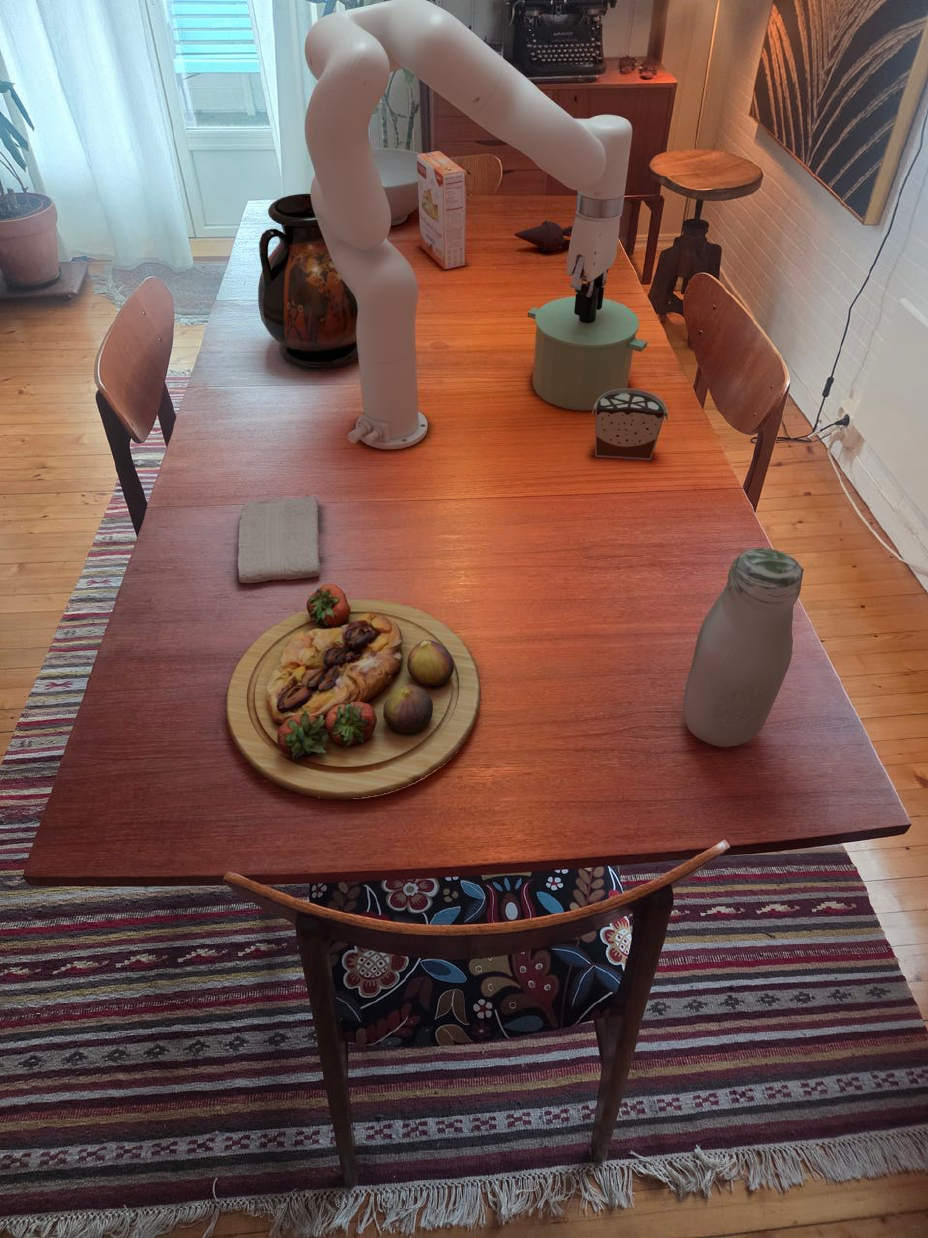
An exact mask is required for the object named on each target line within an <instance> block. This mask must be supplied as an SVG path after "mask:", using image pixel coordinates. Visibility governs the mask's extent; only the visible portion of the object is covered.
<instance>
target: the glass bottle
mask: <svg viewBox="0 0 928 1238" xmlns="http://www.w3.org/2000/svg"><path fill="white" fill-rule="evenodd" d="M804 571H805V568H802V566H801V564H800V563H799V562H798V560H796V559H795V558H794V557H792V556H791V555H788V554H787V553H785V552H783V551H780V550H777V549H774V548H773V549H772V548H765V547H761V548H760V547H759V548H752V549H749V550H747V551H744V552H742V553H741V554H739V555H738V556H737V557H736V558H735V559H734V560H733V562H732V564H731V565H730V567H729V570H728V574H727V581H726V584H725V586H724V589H723V590H722V592H721V593H720V595H719V596H718V597H717V599H716V600H715V601H714V603H713V605H712V606H711V608H710V610H708V612H707V614H706V615H705V617H704V619H703V621H702V623H701V626H700V627H699V631H698V634H697V638H696V643H695V647H694V651H693V652H694V653H693V658H692V660H691V661H692V662H691V665H690V669H689V673H688V676H687V680H686V684H685V688H684V689H685V690H684V694H683V695H684V696H683V702H682V715H683V718H684V722H685V723H686V727H687V729H688V730H689V731H690V733H691V734H692V735H694V737H696V739H699V740H701V741H702V742H704V743H706V744H709V745H712V746H715V747H719V748H730V747H731V748H732V747H738V746H740V745H744V744H746V743H748V742H750V741H751V740H753V739H755V737H757V736H758V735H759V733H760V732H761V731H762V730H763V728H764V726H765V725H766V722H767V720H768V718H769V716H770V714H771V710H772V708H773V707H774V704H775V702H776V699H777V697H778V694H779V692H780V690H781V687H782V684H783V682H784V679H785V678H786V674H787V673H788V669H789V667H790V666H791V665H790V664H791V661H792V657H793V655H792V654H793V646H794V639H793V638H794V637H793V619H794V606H795V604H796V603H797V601H798V599H799V597H800V594H801V590H802V581H803V575H804Z"/></svg>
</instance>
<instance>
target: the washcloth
mask: <svg viewBox="0 0 928 1238" xmlns="http://www.w3.org/2000/svg"><path fill="white" fill-rule="evenodd" d="M319 535H320V533H319V499H318V498H317V497H315V496H311V495H304V496H302V497H295V498H294V497H293V498H280V499H279V498H277V499H276V498H275V499H274V498H273V499H258V500H254V499H253V500H250V501H248V502H246V503H245V504H243V506H242V510H241V516H240V520H239V521H238V541H237V544H238V545H237V547H238V554H237V555H238V557H237V569H238V580H239V583H244V584H254V583H260V582H261V583H265V582H268V581H276V580H287V581H290V580H299V579H307V578H309V579H310V578H316V577H319V576H321V575H322V573H321V561H320V540H319V539H320V537H319Z"/></svg>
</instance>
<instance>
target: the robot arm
mask: <svg viewBox="0 0 928 1238" xmlns="http://www.w3.org/2000/svg"><path fill="white" fill-rule="evenodd" d="M304 58H305V62H306V65H307V68H308V69H309V72H310V74H312V76H313V77H314V79H315V80H316V81H317V82H316V84H315V87H314V88H313V90H312V93H311V95H310V98H309V101H308V105H307V107H306V113H305V116H304V137H305V143H306V144H305V145H306V148H307V150H308V151H307V152H308V155H309V158H310V161H311V163H312V164H311V165H312V167H313V170H314V171H313V172H314V175H313V178H312V181H311V185H310V194H311V202H312V207H313V210H314V213H315V216H316V219H317V222H318V224H319V227H320V230H321V232H322V235H323V238H324V240H325V243H326V246H327V248H328V251H329V253H330V256H331V259H332V261H333V264H334V266H335V268H336V270H337V272H338V274H339V276H340V277H341V279H342V280H343V281H344V283H345V284H346V285H347V286H348V288H349V289H350V291H351V292H352V293H353V295H354V296H355V298H356V301H357V306H358V315H357V324H356V339H357V350H358V357H357V358H358V359H357V360H358V368H359V381H360V391H361V392H360V393H361V404H362V413H361V414H360V415H359V417H358V418H357V420H356V422H355V428H354V429H353V430H351V431H350V432H348V433H347V436H346V438H347V440H348V441H349V442H350V443H351V444H356V443H357V442H359V441H361V442H362V443H364V444H365V445H367V446H369V447H372V448H375V449H378V450H379V449H380V450H400V449H401V450H402V449H405V448H408V447H411V446H415V445H416V444H417V443H419V442H421V441H422V440H423V439H424V438H425V437H426V436H427V433H428V429H429V428H428V427H429V425H428V419H427V418H426V416H425V415H424V414H423V413H422V412H421V411H419V391H418V368H417V363H418V362H417V345H416V344H417V343H416V316H417V307H418V301H419V284H418V283H419V282H418V279H417V276H416V273H415V271H414V269H413V267H412V265H411V264H410V262H409V261H408V260H407V258H406V257H405V256H404V255H403V254H402V253H401V252H400V251H399V250H398V249H397V247H395V246H394V245H393V244H392V242H390V241H389V239H388V238H387V237H388V235H389V233H390V230H391V227H392V226H391V211H390V206H389V202H388V199H387V196H386V194H385V191H384V188H383V185H382V182H381V179H380V176H379V172H378V169H377V166H376V163H375V160H374V156H373V152H372V148H373V147H372V144H371V140H370V123H371V119H372V116H373V114H374V111H375V110H376V108H377V106H378V105H379V103H380V102H381V100H382V99H383V96H384V95H385V93H386V91H387V89H388V85H389V81H390V74H391V73H394V72H396V71H400V70H403V69H405V70H406V71H408V72H409V73H411V74H412V75H413V76H415V77H416V78H417V79H418V80H420V81H421V82H422V83H424V84H425V85H426V86H428V88H430V89H432V90H433V91H434V92H436V93H437V94H438V95H439V96H440V97H442V98H443V99H444V100H446V101H447V102H448V103H450V104H451V105H452V106H454V107H455V108H456V109H458V110H459V111H461V113H463V114H464V115H465V116H467V117H468V118H470V119H471V120H472V121H473V122H474V123H476V124H477V125H479V126H480V127H481V128H482V129H484V130H485V131H487V132H488V133H489V134H491V135H492V136H494V137H495V138H497V139H499V140H500V141H502V142H504V143H506V144H508V145H510V146H512V147H513V148H515V150H517V151H518V152H521V153H522V154H524V155H525V156H526V157H528V158H529V159H531V160H532V161H533V163H534V164H535V165H536V166H537V167H538V168H539V169H540V170H542V171H543V172H545V173H546V174H548V175H549V176H551V177H553V178H554V179H555V180H556V181H558V182H560V183H561V184H562V185H564V187H566V188H568V189H570V190H572V191H576V192H577V193H576V203H575V204H576V205H575V214H576V215H575V216H574V221H573V224H572V226H573V229H572V233H571V237H569V238H570V239H569V240H570V245H569V249H568V252H567V259H566V267H565V268H566V269H565V274H566V276H567V277H572V279H571V282H570V285H569V286H570V288H571V289H574V293H575V296H576V298H575V308H574V313H575V314H576V315H579V316H582V317H585V318H590V317H591V316H592V308H593V300H594V296H593V295H592V291H593V284H597V285H598V286H599V295H598V303H597V310H600V309H601V308H602V303H603V298H604V294H605V286H606V284H607V276H608V275H607V274H608V273H609V270H610V268H611V267H612V266H613V265H614V263H615V262H616V259H617V255H618V246H619V238H620V225H621V223H620V222H621V217H622V216H623V209H624V202H625V192H626V186H627V178H628V170H629V162H630V154H631V147H632V140H633V126H632V124H631V122H630V121H629V120H628V119H627V118H625V117H623V116H619V115H615V114H600V115H599V114H598V115H595V116H592V117H590V118H574V117H573V116H572V115H571V114H570V113H568V112H567V111H565V109H563V108H562V107H561V106H560V105H558V104H557V103H556V102H554V100H552V99H551V98H550V97H549V96H547V95H546V94H545V93H544V92H543V91H542V90H540V89H539V88H538V87H537V86H536V85H535V84H534V83H533V82H532V81H531V80H530V79H529V78H527V77H526V76H525V74H523V73H521V72H520V71H519V70H517V68H516V67H514V66H513V65H512V64H511V63H510V62H509V61H507V60H506V59H505V58H503V56H501V55H500V54H499V53H498V52H496V50H494V49H493V48H492V47H491V46H490V45H488V44H487V43H486V42H484V41H483V40H482V39H481V37H479V36H478V35H476V33H474V31H472V30H471V29H470V28H468V27H467V26H466V25H465V24H464V23H463V22H462V21H460V20H459V19H458V18H457V17H456V16H454V15H453V14H451V12H449V11H448V10H446V9H444V8H442V7H440V6H438V5H436V4H434V3H432V2H430V1H429V0H386V1H382V2H377V3H373V4H369V5H364V6H358V7H354V8H350V9H345V10H340V11H336V12H331V13H328V14H326V15H324V16H322V17H321V18H319V19H317V20H316V21H315V22H314V23H313V25H312V26H311V27H310V29H309V30H308V32H307V35H306V38H305V42H304ZM583 282H586V283H588V286H586V284H585V283H583Z"/></svg>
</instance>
